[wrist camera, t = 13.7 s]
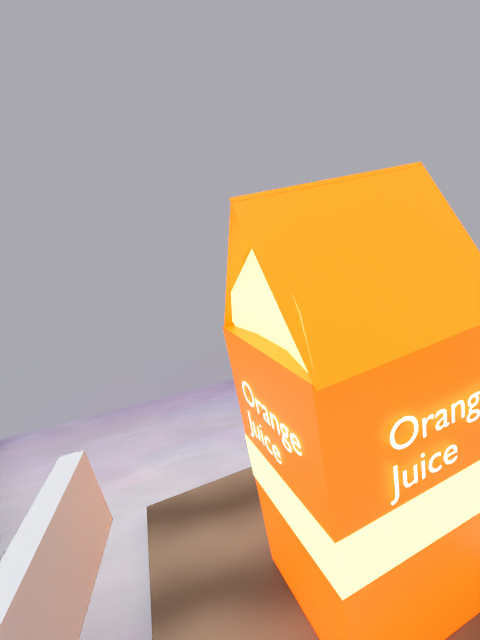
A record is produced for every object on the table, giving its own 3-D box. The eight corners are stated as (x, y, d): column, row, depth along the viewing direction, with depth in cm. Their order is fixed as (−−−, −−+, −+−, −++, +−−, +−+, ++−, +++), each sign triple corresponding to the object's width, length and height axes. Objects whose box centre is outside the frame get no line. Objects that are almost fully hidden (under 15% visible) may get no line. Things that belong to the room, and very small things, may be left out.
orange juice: (270, 557, 22) (194, 206, 16) (387, 492, 24) (359, 175, 19) (360, 713, 15) (284, 183, 9) (510, 596, 17) (529, 138, 12)
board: (152, 521, 28) (146, 506, 28) (357, 441, 32) (355, 427, 31) (178, 955, 12) (165, 935, 11) (605, 684, 15) (608, 660, 15)
